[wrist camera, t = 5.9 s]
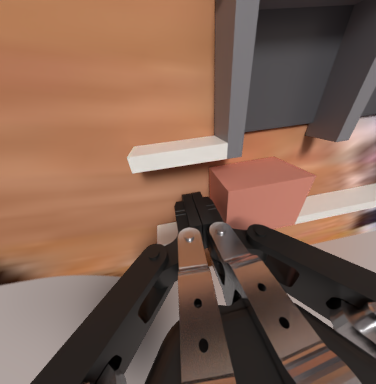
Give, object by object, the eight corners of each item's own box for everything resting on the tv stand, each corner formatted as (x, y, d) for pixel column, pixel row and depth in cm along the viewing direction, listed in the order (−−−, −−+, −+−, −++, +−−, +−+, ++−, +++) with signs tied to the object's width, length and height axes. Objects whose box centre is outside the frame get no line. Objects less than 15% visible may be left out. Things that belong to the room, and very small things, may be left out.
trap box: (159, 231, 15) (159, 268, 12) (86, -12, 6) (1, -148, 3) (399, 184, 18) (455, 203, 14) (578, -29, 9) (822, -106, 6)
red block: (209, 208, 14) (225, 239, 11) (209, 167, 12) (228, 191, 9) (264, 197, 15) (294, 224, 12) (274, 156, 12) (316, 175, 9)
